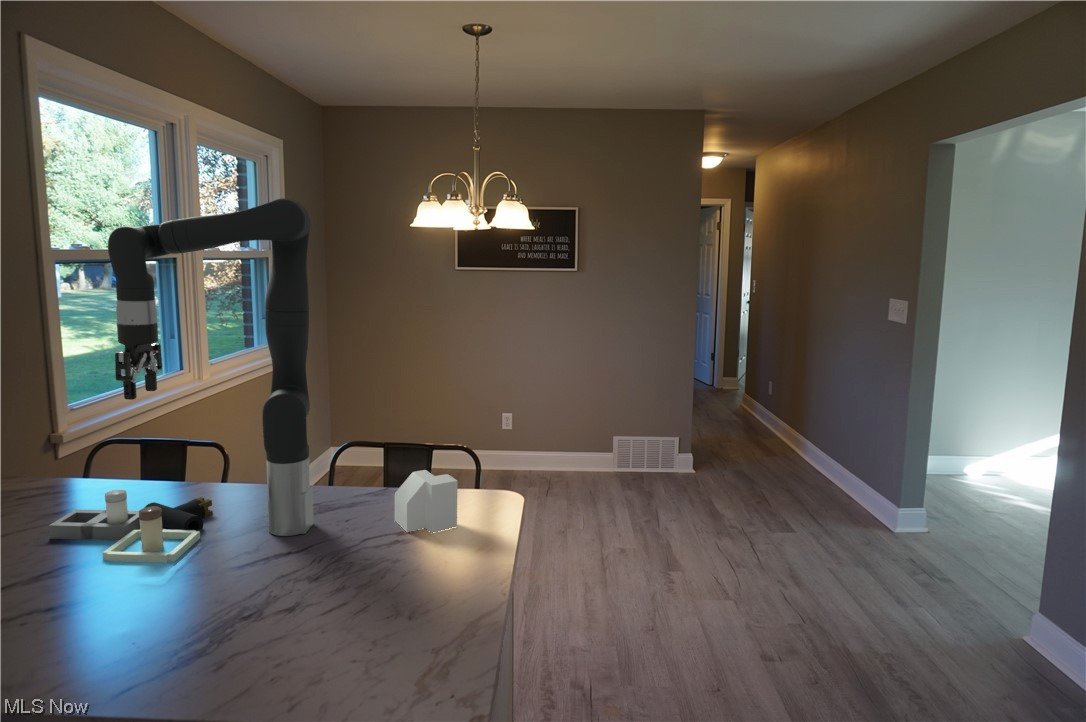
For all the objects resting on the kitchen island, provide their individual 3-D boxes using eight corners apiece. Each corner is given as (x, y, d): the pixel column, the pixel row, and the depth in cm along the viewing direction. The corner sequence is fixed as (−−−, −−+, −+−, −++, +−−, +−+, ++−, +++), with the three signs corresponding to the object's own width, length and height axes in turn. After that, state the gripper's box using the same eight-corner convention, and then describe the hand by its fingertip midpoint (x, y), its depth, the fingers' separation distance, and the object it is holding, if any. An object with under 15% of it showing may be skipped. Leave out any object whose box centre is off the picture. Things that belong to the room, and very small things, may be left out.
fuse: (132, 527, 156) (130, 489, 154) (122, 535, 152) (119, 496, 150) (114, 527, 156) (111, 489, 154) (103, 534, 152) (100, 496, 150)
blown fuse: (167, 546, 148) (164, 506, 147) (157, 554, 144) (154, 513, 142) (148, 545, 148) (145, 506, 146) (137, 554, 144) (134, 513, 142)
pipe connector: (185, 490, 169) (227, 502, 162) (187, 510, 170) (228, 523, 163) (140, 506, 158) (182, 519, 152) (142, 527, 160) (184, 542, 153)
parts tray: (201, 541, 153) (201, 530, 152) (173, 567, 140) (172, 555, 140) (135, 539, 152) (135, 528, 152) (101, 565, 140) (100, 553, 140)
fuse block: (147, 527, 158) (146, 511, 158) (125, 544, 149) (123, 527, 149) (77, 525, 158) (75, 509, 157) (50, 542, 149) (48, 525, 148)
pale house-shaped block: (456, 528, 164) (457, 480, 162) (412, 538, 158) (412, 488, 156) (437, 513, 173) (437, 467, 171) (394, 522, 167) (394, 474, 164)
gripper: (137, 325, 140) (141, 403, 143) (171, 318, 154) (174, 388, 157) (99, 324, 140) (104, 401, 143) (137, 316, 154) (141, 387, 157)
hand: (141, 394), depth 150 cm, fingers open, 8 cm apart
